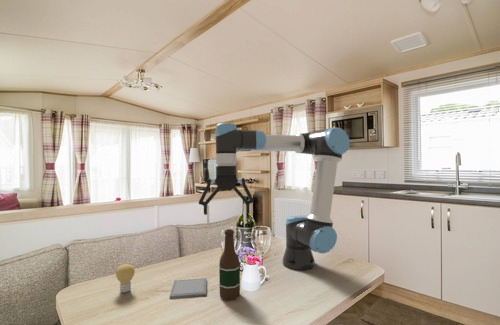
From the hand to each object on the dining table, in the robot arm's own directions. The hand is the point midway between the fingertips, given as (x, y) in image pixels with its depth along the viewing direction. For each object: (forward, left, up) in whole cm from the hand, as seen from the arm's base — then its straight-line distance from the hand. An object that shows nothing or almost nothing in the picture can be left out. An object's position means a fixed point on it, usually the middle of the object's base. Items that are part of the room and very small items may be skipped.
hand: (226, 222), depth 97 cm
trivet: (+14, -7, -27) cm, 31 cm away
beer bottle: (-1, +1, -27) cm, 27 cm away
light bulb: (+38, -9, -27) cm, 47 cm away
